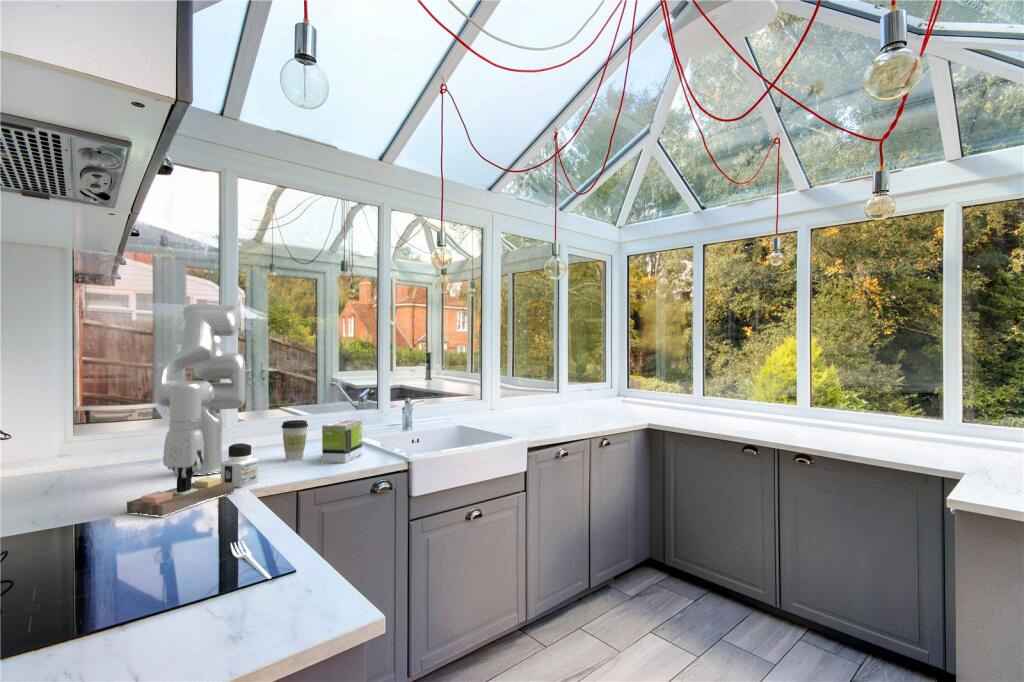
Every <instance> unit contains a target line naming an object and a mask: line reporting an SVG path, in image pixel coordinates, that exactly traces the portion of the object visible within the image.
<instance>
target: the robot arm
mask: <svg viewBox="0 0 1024 682" xmlns="http://www.w3.org/2000/svg"><path fill="white" fill-rule="evenodd" d="M182 315H183V318H184V319H183V320H184V326H183V332H182V340H181V341H182V342H181V346H180V350H179V351H178V352H177V353H175V354H174V355H172V356H171V357H170V358H169V359H168V360H167V361H166V362H165V363H164V364H163V365H162V366H161V367H162V368H161V369H160V371H159V374H158V377H157V383H156V390H155V399H156V402H157V404H158V405H159V406H161V407H169V422H168V427H169V429H168V431H167V432H166V435H165V439H164V446H163V454H162V455H163V456H162V457H163V458H162V463H163V466H165V467H167V469H168V470H171V471H173V473H174V477H175V478H176V488H177V492H185V491H188V490H191V483H192V477H193V475H198V474H208V473H214V472H221V463H222V462H223V420H222V418H221V417H220V415H219V414H218V413H217V412H216V411H217V410H232V409H240V408H242V407H243V406H244V405H245V402H246V385H247V384H246V378H247V377H246V370H247V369H246V361H245V360H246V359H245V357H244V356H243V354H242V353H239V352H223V338H222V337H232V336H234V335H236V333H237V331H238V329H239V327H240V325H241V323H242V311H241V309H240V308H239V306H237V305H234V304H233V305H232V304H216V303H215V304H213V303H212V304H211V303H192V304H188V305H186V306H184V308H183V310H182ZM192 366H193V369H194V370H193V371H194V375H195V376H196V378H198V379H202V380H172V379H173V377H174V376H175V375H176V374H177V373H178V372H180V371H181V370H184V369H186V368H190V367H192ZM206 380H230V381H231V382H209V381H206Z"/></svg>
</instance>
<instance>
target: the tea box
mask: <svg viewBox="0 0 1024 682" xmlns="http://www.w3.org/2000/svg"><path fill="white" fill-rule="evenodd" d="M362 422H363V421H362V420H361V419H359V420H358V419H339V420H337V421H332V422H329V423H326V424H323V425H322V427H321V428H322V429H321V430H322V431H321V433H322V440H321V442H322V445H321V446H322V448H321V449H322V450H321V451H322V454H321V455H322V456H321V457H322V463H327V462H336V463H335V464H345V463H348V462H350V461H353V460H354V459H356V458H358V457H360V456H362V455H363V423H362ZM361 454H362V455H361ZM359 455H360V456H359ZM357 456H358V457H357ZM337 462H338V463H337Z"/></svg>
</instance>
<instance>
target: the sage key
mask: <svg viewBox="0 0 1024 682" xmlns="http://www.w3.org/2000/svg"><path fill="white" fill-rule="evenodd" d="M195 491H198V489H192V488H191V490H188V491H185V492H177V490H176V491H173V492H171V493H173V494H175V495H186V494H189V493H192V492H195Z"/></svg>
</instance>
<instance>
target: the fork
mask: <svg viewBox="0 0 1024 682" xmlns="http://www.w3.org/2000/svg"><path fill="white" fill-rule="evenodd" d="M241 543H242V545H241ZM241 543H240V541H237V543H236V542H233V543H232V542H230V549H231V554H232V556H234V557H235V558H236V559H245V560H246V561H247V563H249V564H250V566H252V567H253V568H254V569H256V570H257V571H258V572H259V573H260V574H261V575H263V576H264V577H265V578H266V579H268V580H270V579H272V576H271V575H270V574H269V573H268V572H267V571H266V570H265V569H264V568H263V567H262V566H261V565H260V564H259V563H258V562H257V561H256V560H255V558H253V556H252V555H253V553H252V552H251V551H250V550H249V548H248V547H247V546H246V545H247V544H246V543H245V542H244V540H241ZM233 545H234V546H233ZM242 546H243V547H242Z"/></svg>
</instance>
